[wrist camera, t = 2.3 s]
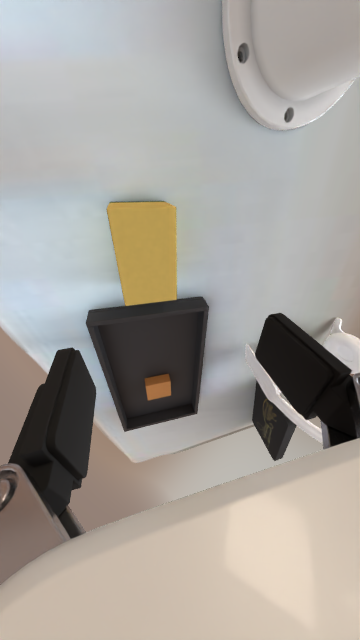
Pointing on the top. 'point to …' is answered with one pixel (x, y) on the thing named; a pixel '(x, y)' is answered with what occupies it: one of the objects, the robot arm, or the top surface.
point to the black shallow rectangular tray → (151, 356)
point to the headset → (340, 344)
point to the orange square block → (158, 386)
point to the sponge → (145, 250)
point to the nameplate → (271, 424)
